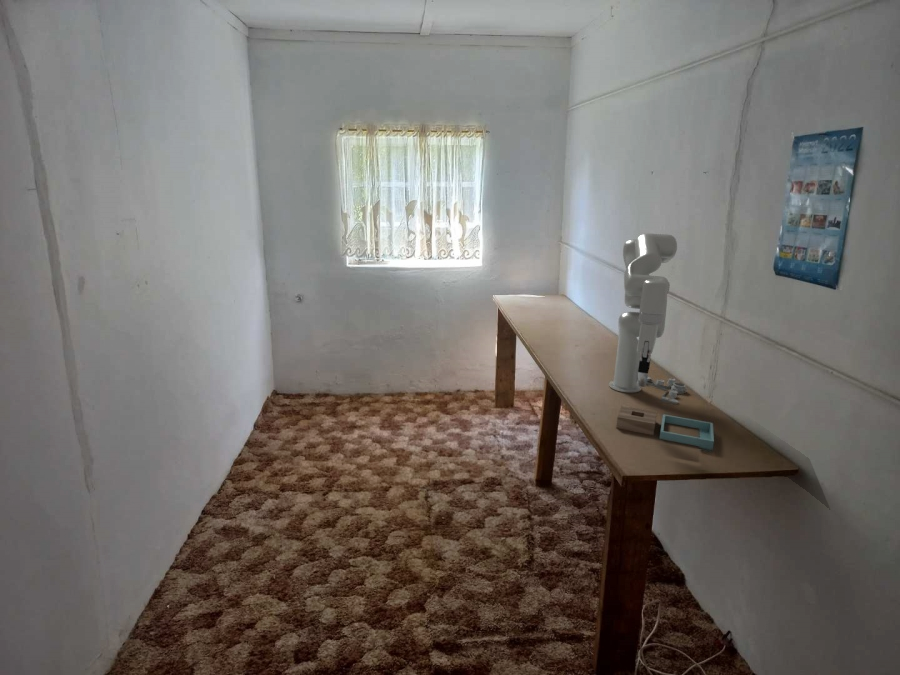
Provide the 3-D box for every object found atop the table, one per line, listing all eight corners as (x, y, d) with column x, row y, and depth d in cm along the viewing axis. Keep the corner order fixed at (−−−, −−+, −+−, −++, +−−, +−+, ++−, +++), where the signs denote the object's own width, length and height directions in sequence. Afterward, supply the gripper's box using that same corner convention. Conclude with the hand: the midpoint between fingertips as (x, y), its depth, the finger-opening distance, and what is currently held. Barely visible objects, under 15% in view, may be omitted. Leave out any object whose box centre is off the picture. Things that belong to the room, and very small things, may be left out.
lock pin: (637, 382, 198) (641, 352, 195) (646, 384, 197) (651, 353, 194) (636, 385, 195) (640, 354, 192) (646, 387, 194) (650, 356, 191)
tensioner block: (620, 418, 208) (621, 404, 206) (655, 424, 203) (657, 411, 202) (615, 430, 197) (617, 416, 196) (653, 437, 193) (655, 423, 191)
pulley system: (668, 382, 251) (635, 380, 249) (670, 372, 250) (637, 369, 248) (701, 409, 225) (664, 406, 223) (704, 397, 224) (667, 395, 222)
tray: (661, 423, 204) (663, 414, 204) (711, 432, 199) (712, 422, 198) (659, 441, 190) (660, 431, 189) (712, 451, 184) (713, 441, 184)
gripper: (641, 311, 198) (634, 362, 204) (636, 321, 184) (629, 376, 189) (664, 314, 196) (656, 365, 201) (661, 324, 181) (653, 380, 186)
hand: (643, 370), depth 195 cm, fingers closed on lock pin, 3 cm apart
